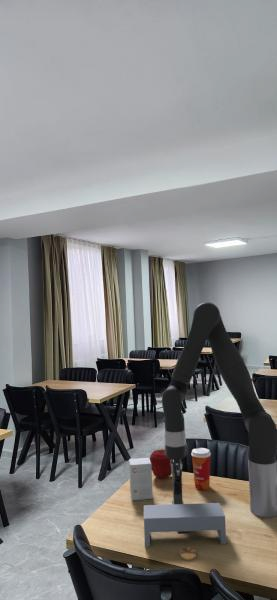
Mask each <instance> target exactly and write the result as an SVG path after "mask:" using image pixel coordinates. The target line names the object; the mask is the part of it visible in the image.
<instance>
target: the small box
mask: <svg viewBox="0 0 277 600" xmlns="http://www.w3.org/2000/svg"><path fill="white" fill-rule="evenodd" d="M128 463H129V464H128V465H129V466H128V467H129V493H130V498H131V501H139V500H140V501H141V500H152V499H154V495H153V494H154V493H153V472H152V466H151V462H150V457H142V458H141V457H140V458H129V459H128Z"/></svg>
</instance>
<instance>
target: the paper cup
mask: <svg viewBox="0 0 277 600" xmlns="http://www.w3.org/2000/svg"><path fill="white" fill-rule="evenodd" d="M211 454H212V453H211V452H210V449H208V448H205V447H198V448H193V449H192V450H191V454H190V455H191V459H192V469H193V479H194V481H193V482H194V487H195V489H197V490H199V491H200V490H201V491H206V490H209V489H210V482H211V481H210V480H211V479H210V478H211V471H210V469H211Z"/></svg>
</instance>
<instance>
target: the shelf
mask: <svg viewBox="0 0 277 600" xmlns="http://www.w3.org/2000/svg"><path fill="white" fill-rule="evenodd" d="M143 525H144V526H143V531H144V533H143V534H144V536H143V537H144V547H150V546H151V544H150V543H151V538H150V537H151V536H150V535H151V534H150V533H169V532H171V533H173V532H175V533H176V532H177V531H179V532H202V531H216V533H217V536H218V538H219V542H220V544H221V545H227V531H226V530H227V529H226V528H227V526H226V515H225V513H224V510H223V508H222V505H221V503H220V502H210V503H207V502H205V503H203V502H202V503H184V504H172V503H171V504H148V505H143Z"/></svg>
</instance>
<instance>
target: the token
mask: <svg viewBox="0 0 277 600" xmlns="http://www.w3.org/2000/svg"><path fill="white" fill-rule="evenodd" d="M179 557H180V558H181V559H183V560H185V561H192V560H195V558H197V551H196V550H195V548H193V547H189V546H188V547H187V546H185V547H182V548H181V549H180V550H179Z"/></svg>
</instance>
